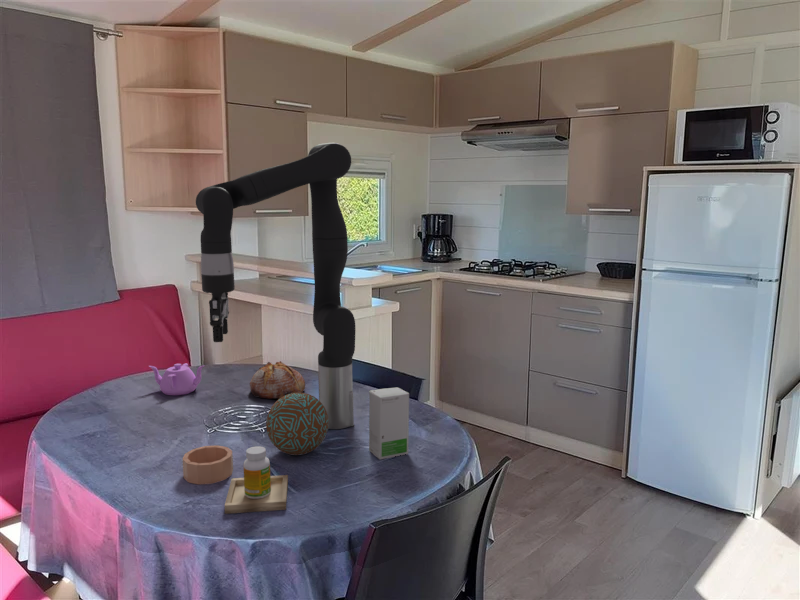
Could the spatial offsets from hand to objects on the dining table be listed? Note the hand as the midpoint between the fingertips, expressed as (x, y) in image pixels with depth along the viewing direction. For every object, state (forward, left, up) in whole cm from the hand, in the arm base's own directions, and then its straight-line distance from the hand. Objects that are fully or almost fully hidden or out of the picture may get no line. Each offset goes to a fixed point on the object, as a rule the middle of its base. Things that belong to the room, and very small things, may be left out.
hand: (220, 337), depth 153 cm
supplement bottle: (-10, +28, -28) cm, 40 cm away
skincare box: (-40, +9, -28) cm, 50 cm away
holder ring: (+2, +15, -28) cm, 32 cm away
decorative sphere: (-18, +6, -28) cm, 34 cm away
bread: (-10, -42, -28) cm, 52 cm away
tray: (-10, +28, -28) cm, 41 cm away
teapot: (+21, -48, -28) cm, 60 cm away
